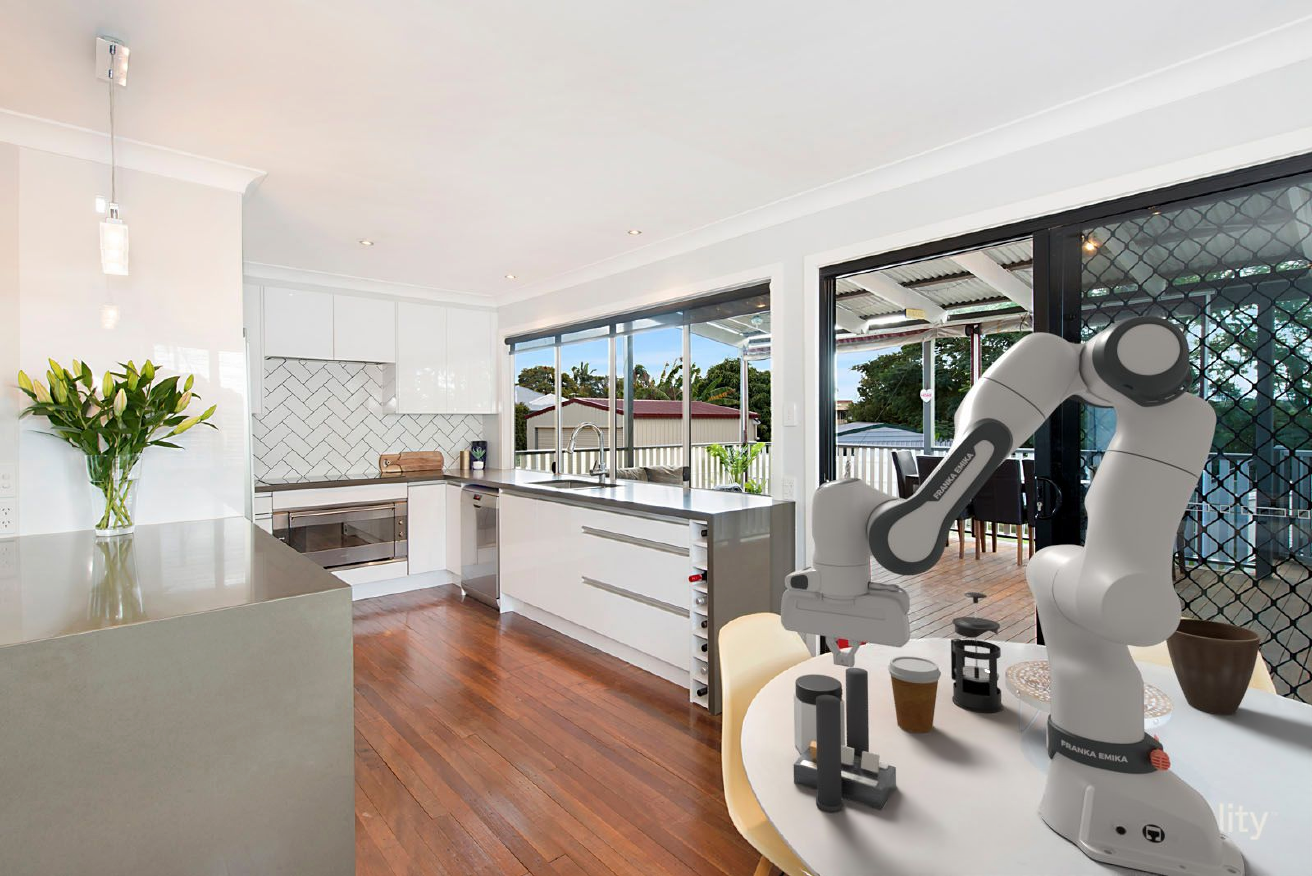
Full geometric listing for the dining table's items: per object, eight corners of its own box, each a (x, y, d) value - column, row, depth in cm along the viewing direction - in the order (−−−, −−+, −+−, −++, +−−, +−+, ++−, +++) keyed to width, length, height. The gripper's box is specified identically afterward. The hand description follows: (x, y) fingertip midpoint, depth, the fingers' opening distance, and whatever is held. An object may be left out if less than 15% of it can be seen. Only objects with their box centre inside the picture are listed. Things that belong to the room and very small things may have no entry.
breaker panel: (896, 785, 102) (895, 765, 102) (882, 810, 95) (881, 788, 95) (811, 761, 110) (811, 743, 110) (793, 782, 103) (793, 762, 103)
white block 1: (853, 764, 102) (854, 748, 103) (850, 765, 101) (852, 749, 102) (838, 760, 104) (839, 744, 104) (836, 761, 103) (837, 745, 103)
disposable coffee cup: (890, 733, 120) (889, 669, 120) (887, 712, 129) (886, 653, 129) (945, 740, 117) (944, 674, 117) (938, 718, 126) (937, 657, 126)
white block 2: (878, 771, 100) (879, 755, 101) (876, 772, 99) (877, 755, 100) (863, 767, 101) (864, 751, 102) (860, 768, 100) (862, 751, 101)
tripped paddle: (828, 756, 104) (826, 744, 104) (825, 761, 103) (823, 749, 103) (814, 752, 106) (812, 740, 105) (811, 757, 105) (809, 745, 104)
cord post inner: (873, 763, 109) (871, 670, 109) (866, 774, 105) (864, 677, 105) (850, 757, 111) (848, 665, 111) (842, 767, 108) (841, 672, 108)
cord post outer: (846, 803, 97) (845, 698, 97) (838, 815, 94) (836, 707, 94) (821, 794, 99) (820, 692, 99) (812, 807, 96) (810, 701, 96)
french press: (1016, 711, 129) (1014, 597, 129) (978, 717, 126) (976, 601, 126) (972, 689, 140) (970, 585, 140) (936, 694, 137) (935, 588, 137)
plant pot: (1254, 731, 119) (1253, 645, 119) (1155, 706, 130) (1154, 628, 130) (1267, 709, 128) (1266, 629, 128) (1174, 687, 140) (1173, 614, 140)
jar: (819, 766, 108) (818, 695, 108) (785, 747, 115) (784, 680, 115) (854, 751, 113) (853, 683, 113) (819, 734, 120) (818, 670, 120)
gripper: (913, 581, 99) (916, 670, 99) (790, 570, 111) (792, 649, 111) (903, 590, 94) (906, 683, 94) (775, 576, 106) (778, 660, 106)
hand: (844, 665), depth 102 cm, fingers closed
